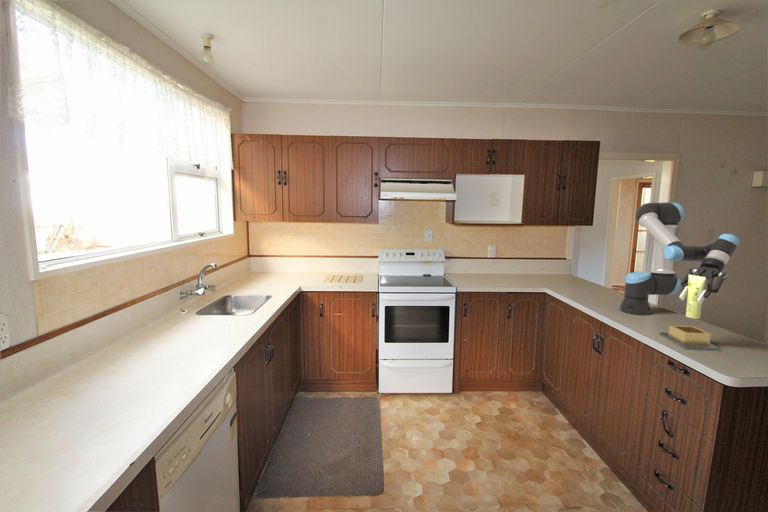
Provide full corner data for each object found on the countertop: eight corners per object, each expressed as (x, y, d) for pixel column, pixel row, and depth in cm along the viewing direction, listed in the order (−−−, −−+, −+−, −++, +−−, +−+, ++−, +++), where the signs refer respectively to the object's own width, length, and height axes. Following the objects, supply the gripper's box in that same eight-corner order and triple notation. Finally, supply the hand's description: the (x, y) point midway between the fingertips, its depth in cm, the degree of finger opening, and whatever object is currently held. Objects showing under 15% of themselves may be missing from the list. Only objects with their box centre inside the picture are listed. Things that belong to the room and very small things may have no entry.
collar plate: (658, 334, 171) (660, 322, 170) (690, 335, 169) (691, 323, 168) (685, 349, 153) (687, 336, 152) (720, 350, 151) (722, 337, 151)
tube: (683, 317, 159) (688, 275, 156) (683, 314, 162) (688, 273, 160) (700, 320, 155) (706, 277, 152) (700, 317, 159) (705, 275, 156)
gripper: (744, 270, 153) (719, 311, 149) (692, 264, 170) (668, 300, 166) (739, 259, 150) (713, 300, 146) (687, 254, 167) (663, 290, 163)
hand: (689, 300), depth 156 cm, fingers closed on tube, 6 cm apart
